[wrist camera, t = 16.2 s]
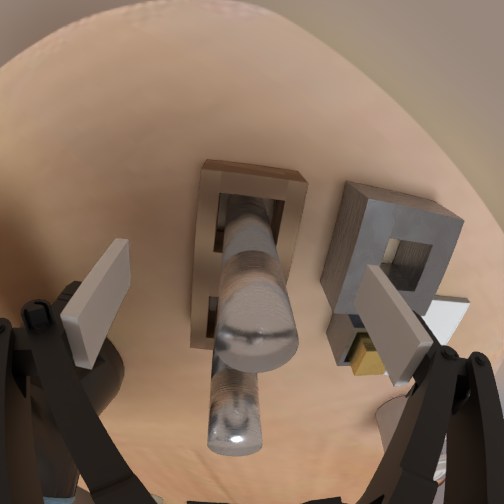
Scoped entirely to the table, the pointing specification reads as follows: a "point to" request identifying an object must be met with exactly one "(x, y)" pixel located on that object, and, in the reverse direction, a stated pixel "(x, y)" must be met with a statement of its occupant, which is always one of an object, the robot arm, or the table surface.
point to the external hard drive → (444, 316)
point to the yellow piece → (364, 356)
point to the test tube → (233, 409)
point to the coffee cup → (388, 422)
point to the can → (157, 499)
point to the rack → (211, 241)
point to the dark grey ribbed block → (193, 503)
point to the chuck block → (372, 251)
